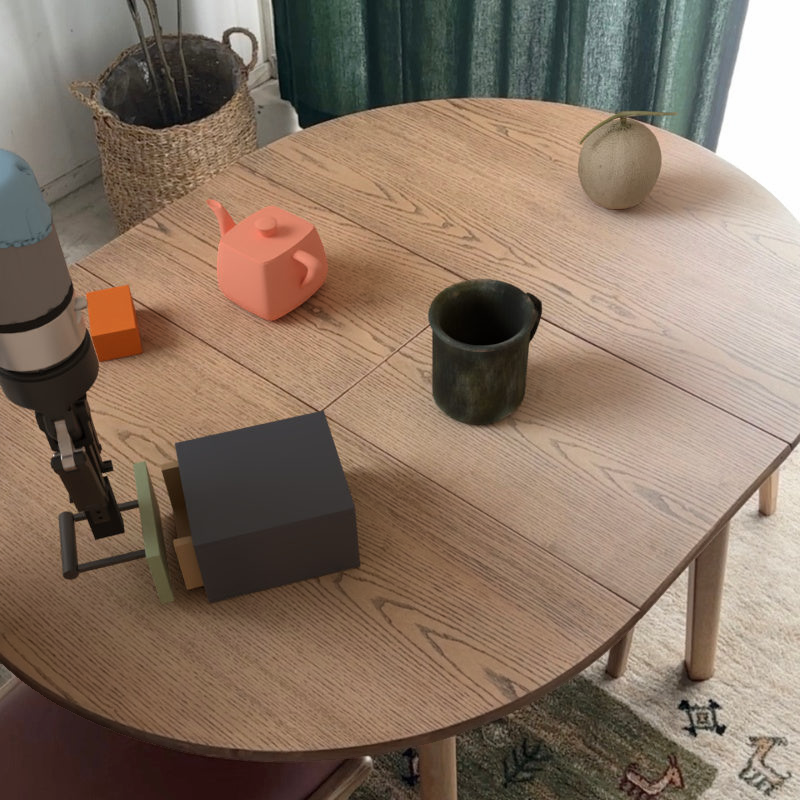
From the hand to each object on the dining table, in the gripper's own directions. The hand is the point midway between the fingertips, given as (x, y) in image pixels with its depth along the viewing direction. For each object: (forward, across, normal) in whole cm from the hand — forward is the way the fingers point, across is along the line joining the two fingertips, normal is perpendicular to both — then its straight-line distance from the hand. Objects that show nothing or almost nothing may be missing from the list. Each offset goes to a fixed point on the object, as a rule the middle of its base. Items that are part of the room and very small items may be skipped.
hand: (109, 530), depth 97 cm
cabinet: (+6, 0, -15) cm, 16 cm away
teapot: (+7, +37, -22) cm, 43 cm away
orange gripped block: (+6, +34, -3) cm, 35 cm away
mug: (+7, +13, -42) cm, 44 cm away
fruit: (+7, +41, -69) cm, 80 cm away
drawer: (+5, 0, -6) cm, 8 cm away
